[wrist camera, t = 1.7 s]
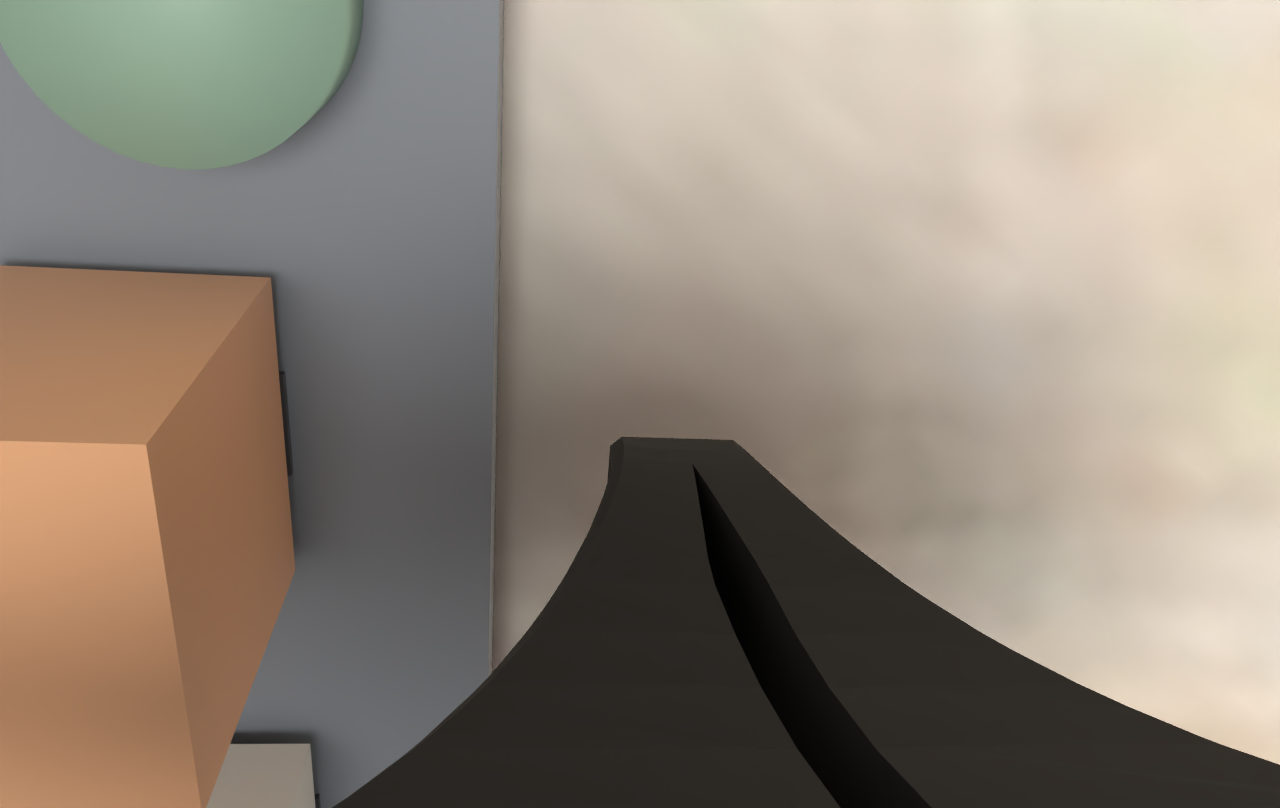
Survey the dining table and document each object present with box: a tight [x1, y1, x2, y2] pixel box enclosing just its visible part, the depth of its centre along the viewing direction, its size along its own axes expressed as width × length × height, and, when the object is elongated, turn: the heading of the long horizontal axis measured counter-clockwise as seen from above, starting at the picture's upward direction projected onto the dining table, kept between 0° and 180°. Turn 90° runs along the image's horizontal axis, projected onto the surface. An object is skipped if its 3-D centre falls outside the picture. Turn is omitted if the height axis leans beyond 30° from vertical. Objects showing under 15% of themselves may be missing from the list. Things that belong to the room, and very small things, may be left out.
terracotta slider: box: [0, 265, 295, 808], centre depth 10 cm, size 4×3×4 cm
